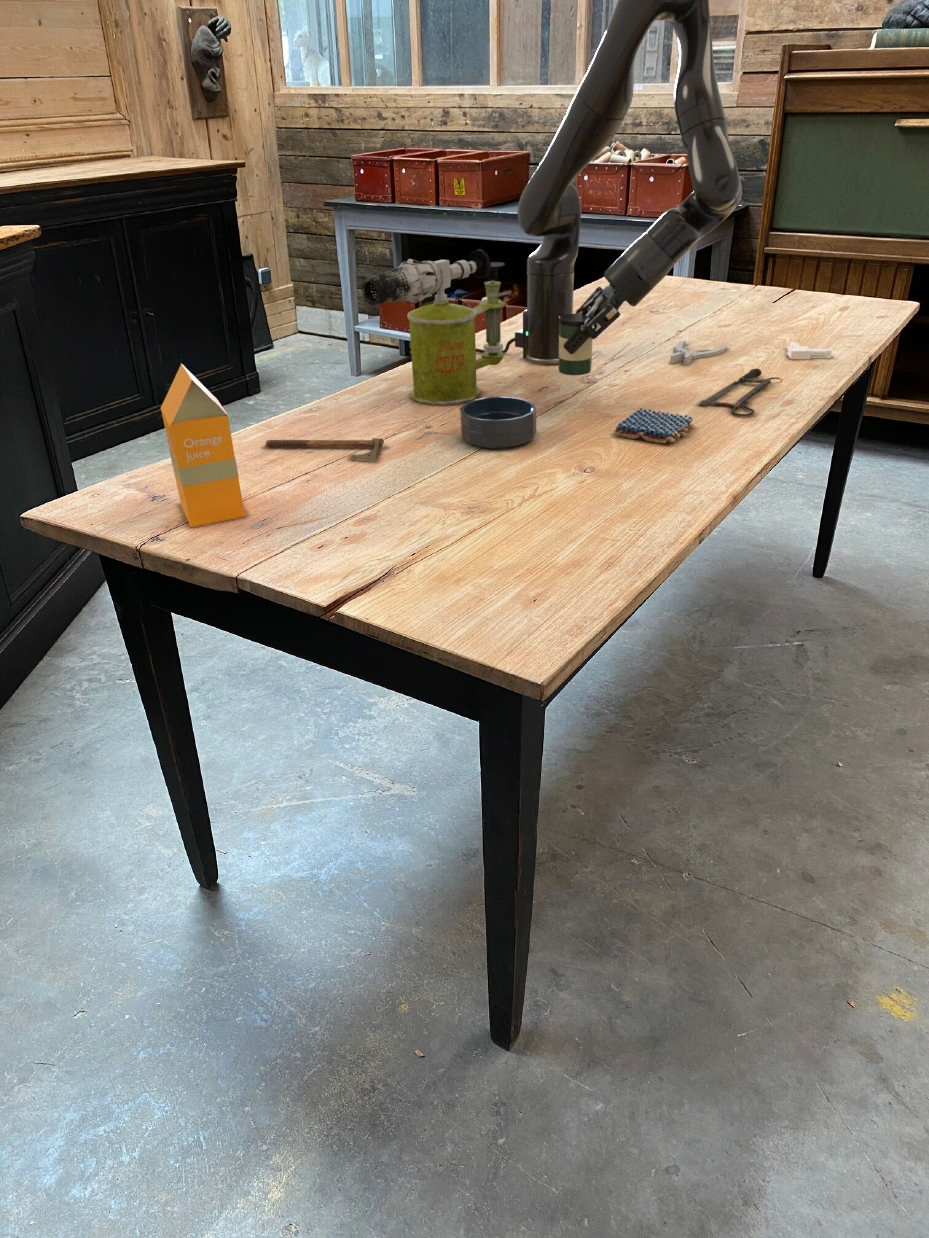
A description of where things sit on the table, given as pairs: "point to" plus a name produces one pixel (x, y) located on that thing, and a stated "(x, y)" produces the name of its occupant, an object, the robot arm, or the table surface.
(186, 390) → the orange juice
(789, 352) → the corner connector
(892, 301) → the table surface
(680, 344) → the pliers
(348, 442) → the tomahawk
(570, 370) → the green tin
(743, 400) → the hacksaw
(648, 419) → the woven mat
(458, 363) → the blowtorch
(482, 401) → the slate bowl
